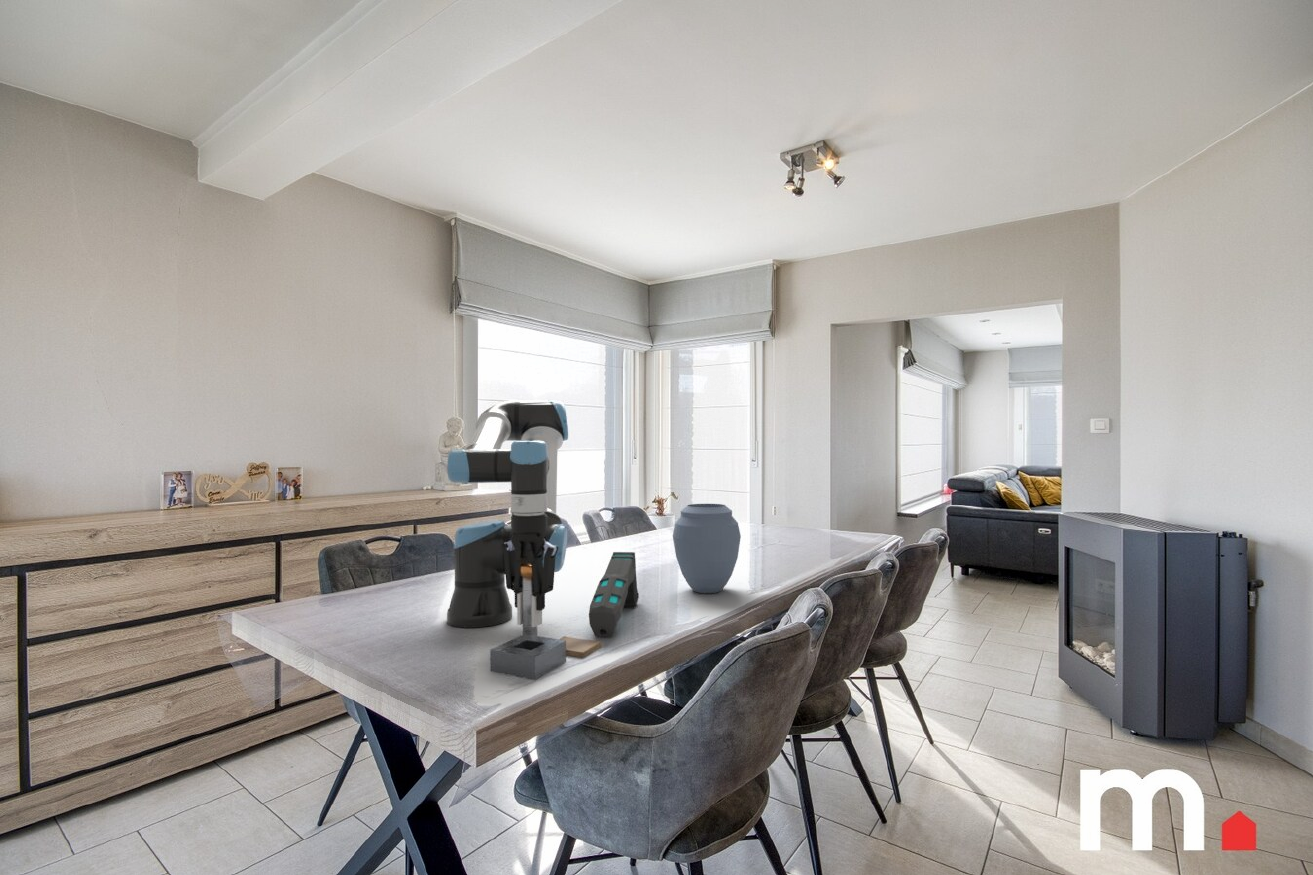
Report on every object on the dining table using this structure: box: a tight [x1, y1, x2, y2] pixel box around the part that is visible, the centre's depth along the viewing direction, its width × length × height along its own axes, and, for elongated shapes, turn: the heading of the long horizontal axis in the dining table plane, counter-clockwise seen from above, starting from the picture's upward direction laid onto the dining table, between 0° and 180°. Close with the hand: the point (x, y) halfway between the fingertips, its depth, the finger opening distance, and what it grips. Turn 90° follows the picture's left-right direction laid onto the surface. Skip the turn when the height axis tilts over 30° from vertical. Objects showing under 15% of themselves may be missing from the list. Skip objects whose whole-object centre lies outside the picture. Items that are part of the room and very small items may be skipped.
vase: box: [672, 503, 742, 595], centre depth 171 cm, size 20×20×24 cm
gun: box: [588, 551, 640, 638], centre depth 143 cm, size 6×29×15 cm, turn 172°
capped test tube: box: [520, 563, 538, 636], centre depth 126 cm, size 4×4×15 cm
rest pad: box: [559, 635, 602, 658], centre depth 122 cm, size 9×7×1 cm
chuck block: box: [489, 633, 567, 681], centre depth 112 cm, size 10×10×4 cm
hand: (529, 623), depth 126 cm, fingers closed on capped test tube, 3 cm apart
